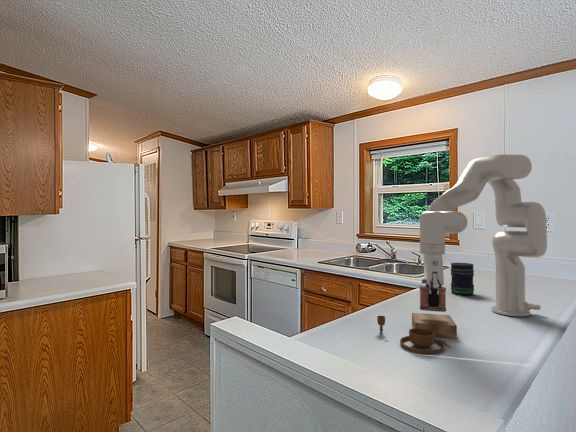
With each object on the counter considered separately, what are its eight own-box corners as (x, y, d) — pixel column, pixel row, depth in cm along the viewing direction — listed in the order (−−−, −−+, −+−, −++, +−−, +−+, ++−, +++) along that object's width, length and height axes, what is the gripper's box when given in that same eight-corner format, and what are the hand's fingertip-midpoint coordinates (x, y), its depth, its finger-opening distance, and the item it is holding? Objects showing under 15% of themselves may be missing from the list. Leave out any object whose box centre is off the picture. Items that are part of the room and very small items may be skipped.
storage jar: (475, 294, 166) (474, 263, 166) (473, 298, 158) (472, 265, 158) (452, 292, 171) (451, 262, 171) (449, 296, 163) (449, 264, 163)
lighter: (445, 309, 113) (445, 279, 113) (446, 312, 110) (446, 280, 110) (419, 307, 116) (419, 277, 116) (419, 310, 113) (419, 279, 113)
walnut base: (449, 326, 117) (449, 315, 117) (456, 338, 106) (456, 325, 106) (411, 324, 120) (411, 312, 120) (415, 335, 109) (415, 322, 109)
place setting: (401, 358, 93) (401, 336, 93) (373, 333, 112) (373, 315, 113) (462, 354, 95) (461, 333, 95) (424, 331, 115) (424, 313, 115)
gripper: (449, 251, 104) (450, 312, 104) (440, 247, 120) (440, 300, 120) (423, 251, 106) (423, 311, 106) (417, 246, 122) (417, 298, 122)
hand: (432, 304), depth 113 cm, fingers closed on lighter, 3 cm apart
